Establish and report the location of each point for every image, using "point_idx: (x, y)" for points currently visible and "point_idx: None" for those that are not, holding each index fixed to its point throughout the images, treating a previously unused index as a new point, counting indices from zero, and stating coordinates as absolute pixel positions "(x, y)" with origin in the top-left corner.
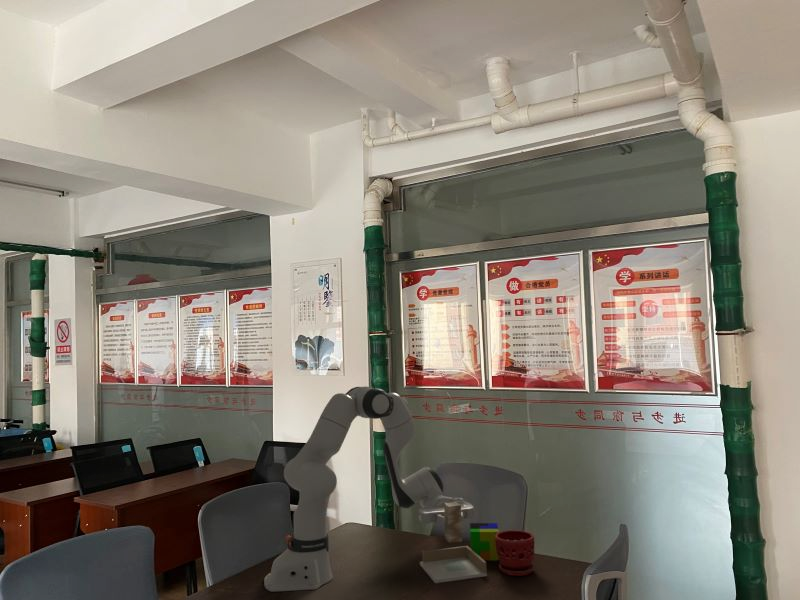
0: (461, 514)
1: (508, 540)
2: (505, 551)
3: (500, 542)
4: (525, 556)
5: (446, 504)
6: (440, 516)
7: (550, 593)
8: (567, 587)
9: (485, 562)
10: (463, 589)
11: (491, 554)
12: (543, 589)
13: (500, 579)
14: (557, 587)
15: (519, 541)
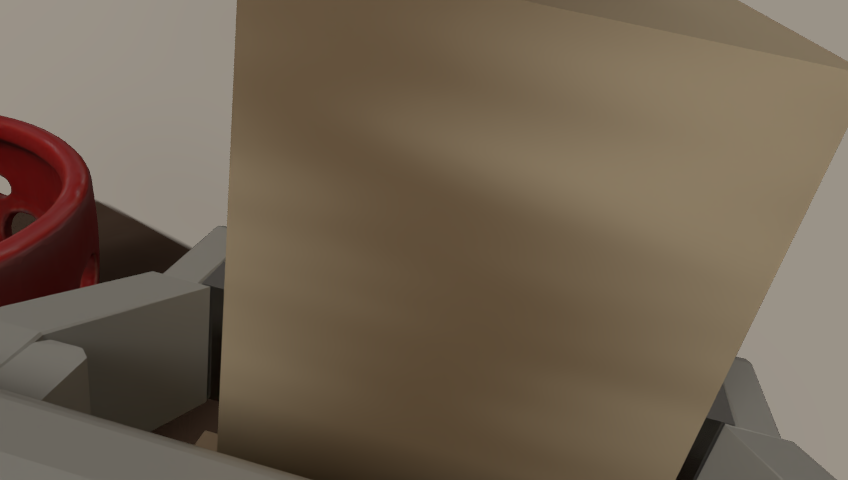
0: (178, 274)
1: (72, 160)
2: (98, 260)
3: (85, 226)
4: (8, 227)
5: (766, 27)
6: (826, 478)
7: (154, 229)
8: (28, 216)
9: (211, 434)
10: None
11: None
12: (133, 254)
13: (179, 426)
14: None
15: (33, 126)
